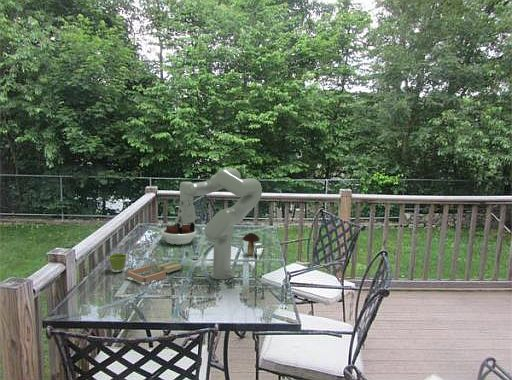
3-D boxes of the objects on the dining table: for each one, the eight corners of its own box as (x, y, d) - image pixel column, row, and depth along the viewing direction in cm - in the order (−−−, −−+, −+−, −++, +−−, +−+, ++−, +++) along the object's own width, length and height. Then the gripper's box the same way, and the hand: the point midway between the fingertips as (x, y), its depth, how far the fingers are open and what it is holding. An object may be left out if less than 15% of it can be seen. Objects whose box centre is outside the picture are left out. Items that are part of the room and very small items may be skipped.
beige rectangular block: (182, 270, 232) (183, 264, 232) (168, 275, 223) (168, 268, 223) (173, 267, 237) (173, 261, 236) (158, 271, 228) (158, 265, 228)
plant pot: (121, 275, 220) (121, 259, 219) (105, 273, 222) (105, 257, 221) (129, 269, 229) (129, 254, 228) (114, 268, 231) (114, 253, 230)
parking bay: (165, 278, 218) (165, 271, 217) (144, 285, 207) (144, 278, 206) (148, 272, 226) (148, 265, 226) (126, 278, 215) (126, 271, 214)
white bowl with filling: (158, 239, 296) (159, 218, 294) (193, 238, 304) (193, 218, 302) (161, 248, 272) (162, 226, 270) (199, 247, 280) (199, 225, 278)
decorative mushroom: (258, 258, 261) (259, 235, 259) (241, 257, 261) (242, 234, 259) (258, 253, 272) (259, 231, 270) (242, 252, 272) (243, 230, 270)
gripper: (179, 205, 226) (179, 236, 228) (201, 202, 239) (201, 231, 242) (170, 204, 230) (170, 233, 232) (192, 200, 244) (192, 229, 246)
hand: (186, 232), depth 237 cm, fingers open, 9 cm apart
